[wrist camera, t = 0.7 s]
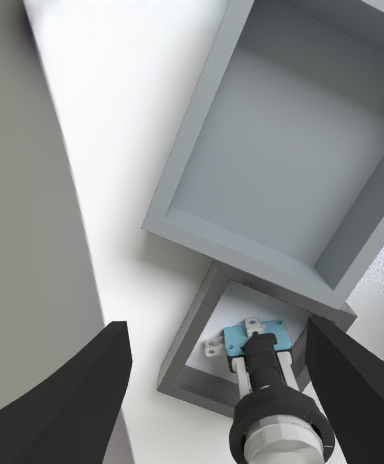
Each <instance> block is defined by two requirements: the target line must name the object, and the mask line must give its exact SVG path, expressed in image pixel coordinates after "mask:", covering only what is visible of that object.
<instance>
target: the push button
mask: <svg viewBox="0 0 384 464" xmlns="http://www.w3.org/2000/svg"><path fill="white" fill-rule="evenodd" d="M251 321H255V322H256V323H254V324H250V322H251ZM245 324H246V325H240V326H232V327H227V328H225V329H224V336H221V337H217V338H218V339H210V340H205V341H204V342H205V346H206V348H205V349H204V350H205V355H206V357H211V356H219V355H220V357H223V356H227V358H228V363H229V368H230V371H231V372H232V373H237V377H238V384H239V392H240V399H241V400H240V401H239V402H238V403H237V405H236V406H235V408H234V420H233V425H232V427H231V429H230V433H229V445H230V451H231V454H232V456H233V458H234V460H235V461H236V462H237V464H325V463H326V462H327V461H328V459H329V458H330V456H331V455H332V453H333V450H334V447H335V436H334V433H333V430H332V428H331V425H330V423H329V421H328V420H327V418H326V417H325V416H324V415H323V414H322V413H321V412H320V410H319V408H318V407H317V405H316V403H315V401H314V400H313V399H312V398H311V397H309V396H307V395H305V394H303V393H301V392H300V391H299V389H298V386H297V383H296V380H295V378H294V375H293V372H292V369H291V367H290V366H292V365H293V356H292V346H291V339H290V336H289V334H288V332H287V329H286V327H285V324H284V322H283V321H282V320H274V321H269V322H261V323H260V321H259V318H257V317H255V318H248V319H246V320H245ZM210 342H213V343H214V345H212V346H211V345H209V343H210ZM210 350H213V351H214V353H213V354H211V353H209V351H210ZM280 370H281V373H280ZM246 372H248V373H249V378H250V383H251V389H252V390H253V392H252V393H250V392H249V386H248V380H247V374H246ZM281 374H282V377H283V380H284V383H285V386H283V384H282V380H281ZM311 423H312V424H311ZM244 433H245V434H244Z"/></svg>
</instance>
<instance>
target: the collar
mask: <svg viewBox="0 0 384 464" xmlns="http://www.w3.org/2000/svg"><path fill="white" fill-rule="evenodd" d="M230 279H231V280H233V281H236V282H238V283H241V284H243V285H246V286H248V287H251V288H253V289H255V290H258V291H260V292H263V293H265V294H268V295H270V296H273V297H275V298H277V299H280V300H282V301H285V302H287V303H290V304H292V305H295V306H297V307H299V308H302V309H304V310H307V311H309V312H312V313H314V314H315V315H314V316H313V317H325V318H326V319H328V320H329V321H330V322H332V323H333V324H334V325H336V326H337V327H338V328H340V329H341V330H342V331H343V332H345V333H346V332H347V330H348V329H349V327H350V326H351V325H352V323H353V322H354V321H355V319H356V318H357V317H358V316H357V315H356V314H355V313H354V312H353V310H352V309H351V308H350V307H349V306H348V304H347V303H346V302H344V303H343V305H342V306H341V308H340V309H339V310H337V309H335V308H333V307H330V306H328V305H325V304H323V303H320V302H318V301H316V300H313V299H311V298H308V297H306V296H304V295H301V294H299V293H296V292H294V291H291V290H289V289H287V288H284V287H282V286H279V285H277V284H275V283H272V282H270V281H267V280H265V279H262V278H260V277H258V276H255V275H253V274H250V273H248V272H245V271H243V270H241V269H238V268H236V267H233V266H231V265H229V264H226V263H224V262H221V261H219V260H216V259H214V261H213V263H212V265H211V267H210V269H209V271H208V273H207V275H206V277H205V279H204V281H203V283H202V285H201V287H200V289H199V291H198V293H197V295H196V297H195V299H194V301H193V303H192V305H191V307H190V309H189V311H188V313H187V315H186V317H185V319H184V321H183V323H182V325H181V327H180V329H179V331H178V333H177V335H176V337H175V339H174V341H173V343H172V345H171V347H170V349H169V351H168V353H167V355H166V357H165V359H164V361H163V363H162V365H161V369H160V375H159V380H158V385H157V391H158V392H161V393H164V394H167V395H170V396H172V397H175V398H178V399H181V400H183V401H186V402H189V403H192V404H194V405H197V406H200V407H203V408H206V409H208V410H211V411H214V412H217V413H219V414H222V415H225V416H228V417H230V418H233V419H234V408H235V406H236V405H237V403H238V402H239V401H240V400H241V399H240V392H239V385H237V384H234V383H232V382H229V381H226V380H223V379H221V378H218V377H215V376H213V375H210V374H207V373H205V372H202V371H199V370H197V369H194V368H191V367H189V366H186V365H185V363H186V361H187V359H188V358H189V356H190V354H191V352H192V350H193V348H194V346H195V344H196V343H197V341H198V339H199V337H200V335H201V333H202V331H203V329H204V327H205V326H206V324H207V322H208V320H209V318H210V316H211V314H212V312H213V311H214V309H215V307H216V305H217V303H218V301H219V299H220V297H221V296H222V294H223V292H224V290H225V288H226V286H227V284H228V282H229V281H230ZM307 326H308V325H307ZM306 338H307V327H306V328H305V330H304V331H303V333H302V334H301V336H300V337H299V339H298V340H297V342H296V343H295V345H294V346H293V347H292V356H293V365H292V366H290V367H291V369H292V372H293V375H294V378H295V380H296V383H297V386H298V389H299V391H300V392H301V393H302V392H303V390H304V389H305V388H306V386H307V385H308V383H309V382H310V381H311V379H310V376H309V372H308V369H307V366H306V363H305V350H306ZM280 373H281V370H280ZM281 380H282V384H283V386H285V383H284V380H283V377H282V374H281ZM249 392H250V393H252V392H253V390H250V389H249Z"/></svg>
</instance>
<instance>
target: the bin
mask: <svg viewBox="0 0 384 464" xmlns="http://www.w3.org/2000/svg"><path fill="white" fill-rule="evenodd" d="M141 229H144V230H146V231H149V232H151V233H154V234H156V235H158V236H161V237H163V238H166V239H168V240H171V241H173V242H175V243H178V244H180V245H183V246H185V247H187V248H190V249H192V250H195V251H197V252H200V253H202V254H204V255H207V256H209V257H212V258H214V259H216V260H219V261H221V262H224V263H226V264H229V265H231V266H233V267H236V268H238V269H241V270H243V271H245V272H248V273H250V274H253V275H255V276H258V277H260V278H262V279H265V280H267V281H270V282H272V283H275V284H277V285H279V286H282V287H284V288H287V289H289V290H291V291H294V292H296V293H299V294H301V295H304V296H306V297H308V298H311V299H313V300H316V301H318V302H320V303H323V304H325V305H328V306H330V307H333V308H335V309H337V310H339V309H340V308H341V306H342V305H343V303H344V302H345V300H346V299H347V298H348V296H349V295H350V293H351V292H352V290H353V289H354V288H355V286H356V285H357V283H358V282H359V280H360V279H361V278H362V276H363V275H364V273H365V272H366V270H367V269H368V268H369V266H370V265H371V263H372V262H373V260H374V259H375V258H376V256H377V255H378V253H379V252H380V250H381V249H382V248H383V246H384V0H230V2H229V5H228V7H227V10H226V12H225V15H224V18H223V20H222V23H221V25H220V28H219V30H218V33H217V35H216V38H215V41H214V43H213V46H212V48H211V51H210V53H209V56H208V58H207V61H206V64H205V66H204V69H203V71H202V74H201V76H200V79H199V81H198V84H197V87H196V89H195V92H194V94H193V97H192V99H191V102H190V104H189V107H188V110H187V112H186V115H185V117H184V120H183V122H182V125H181V127H180V130H179V133H178V135H177V138H176V140H175V143H174V145H173V148H172V150H171V153H170V155H169V158H168V161H167V163H166V166H165V168H164V171H163V173H162V176H161V178H160V181H159V184H158V186H157V189H156V191H155V194H154V196H153V199H152V201H151V204H150V207H149V209H148V212H147V214H146V217H145V219H144V222H143V224H142V227H141Z"/></svg>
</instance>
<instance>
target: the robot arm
mask: <svg viewBox="0 0 384 464" xmlns="http://www.w3.org/2000/svg"><path fill="white" fill-rule="evenodd" d="M305 363H306V366H307V369H308V372H309V376H310V379H311V382H312V385H313V387H314V390H315V392H316V394H317V396H318V399H319V401H320V403H321V405H322V407H323V410H324V412H325V414H326V416H327V418H328V421H329V423H330V425H331V427H332V429H333V432H334V434H335V436H336V438H337V440H338V443H339V445H340V447H341V449H342V452H343V454H344V457H345V459H346V462H347V464H384V361H382V360H381V359H379V358H378V357H377V356H375V355H374V354H372V353H371V352H370V351H368V350H367V349H366V348H364V347H363V346H362V345H360V344H359V343H358V342H356V341H355V340H354V339H352V338H351V337H350V336H348V335H347V334H346V333H345V332H343V331H342V330H341V329H340V328H338V327H337V326H336V325H334V324H333V323H332V322H330V321H329V320H328V319H326V318H325V317H308V326H307V338H306V350H305ZM131 367H132V355H131V348H130V341H129V335H128V328H127V321H112V322H111V323H109V324H108V325H107V326H106V327H105V328H104V329H103V330H102V331H101V332H100V333H99V334H98V335H97V336H96V337H95V338H93V339H92V340H91V341H90V342H89V343H88V344H87V345H86V346H85V347H84V348H83V349H81V350H80V351H79V352H78V353H77V354H76V355H75V356H74V357H73V358H71V359H70V360H69V361H68V362H67V363H65V364H64V365H63V366H62V367H61V368H59V369H58V370H57V371H56V372H55V373H53V374H52V375H51V376H49V377H48V378H47V379H45V380H44V381H43V382H41V383H40V384H39V385H37V386H36V387H34V388H33V389H32V390H30V391H29V392H27V393H26V394H24V395H23V396H21V397H20V398H18V399H17V400H15V401H13V402H12V403H10V404H9V405H7V406H5V407H4V408H2V409H1V410H0V464H102V462H103V458H104V455H105V452H106V448H107V445H108V442H109V439H110V436H111V433H112V431H113V428H114V425H115V422H116V419H117V416H118V413H119V410H120V407H121V404H122V401H123V398H124V396H125V393H126V389H127V386H128V382H129V377H130V372H131Z"/></svg>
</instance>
